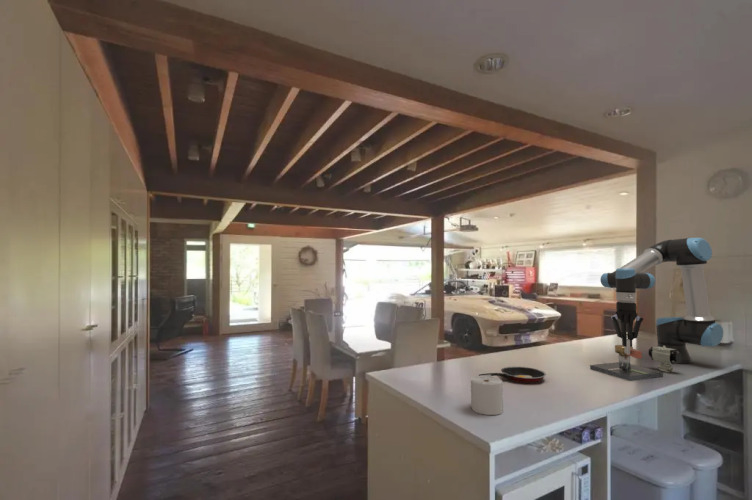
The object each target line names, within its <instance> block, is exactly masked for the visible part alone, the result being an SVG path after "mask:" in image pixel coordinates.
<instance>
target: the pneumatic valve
mask: <svg viewBox="0 0 752 500" xmlns="http://www.w3.org/2000/svg"><path fill="white" fill-rule="evenodd" d="M648 356H649V357H650V358H651V360H652V361H657V362H659V363H658V365H657V368H658V371H660V372H663V373H672V372H674V367H673V365H675V364H678V363H679V362H680V361H681V359H682V357H681V354H680V353H679V352H678V350H676V349H671V348H665V346H663V347H659V346H651V347H650V348H649V349H648Z"/></svg>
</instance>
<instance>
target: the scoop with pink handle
mask: <svg viewBox="0 0 752 500" xmlns="http://www.w3.org/2000/svg"><path fill="white" fill-rule="evenodd" d="M614 352H615V353H616V354H618V355H619V354H626V353H625V351H624V346H623V345H622V344H615V345H614ZM626 355H628V356H630V358H633V359H642V358H643V357H642V351H641V350H638V349H635V348H634V347H633V346H632V347H630V354H626Z"/></svg>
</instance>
